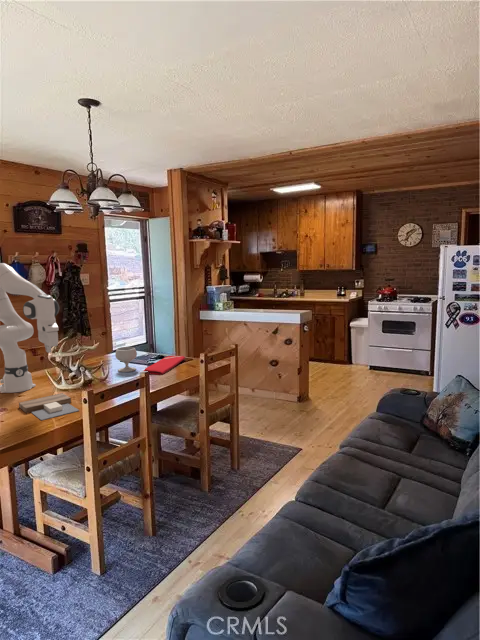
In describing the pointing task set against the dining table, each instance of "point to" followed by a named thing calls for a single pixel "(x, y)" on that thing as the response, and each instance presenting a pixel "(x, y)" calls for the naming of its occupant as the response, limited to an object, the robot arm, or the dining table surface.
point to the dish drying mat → (164, 365)
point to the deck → (43, 402)
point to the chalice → (126, 357)
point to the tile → (53, 407)
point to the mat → (44, 414)
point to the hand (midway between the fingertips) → (48, 352)
